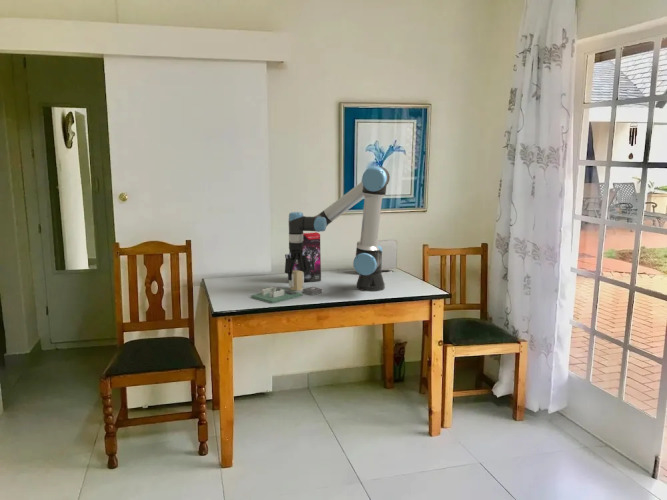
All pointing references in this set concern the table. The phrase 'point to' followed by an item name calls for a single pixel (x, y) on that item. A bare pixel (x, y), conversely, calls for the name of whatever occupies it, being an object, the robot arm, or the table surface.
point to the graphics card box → (311, 257)
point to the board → (276, 295)
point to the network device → (388, 254)
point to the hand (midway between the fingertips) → (296, 284)
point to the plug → (297, 280)
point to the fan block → (312, 290)
